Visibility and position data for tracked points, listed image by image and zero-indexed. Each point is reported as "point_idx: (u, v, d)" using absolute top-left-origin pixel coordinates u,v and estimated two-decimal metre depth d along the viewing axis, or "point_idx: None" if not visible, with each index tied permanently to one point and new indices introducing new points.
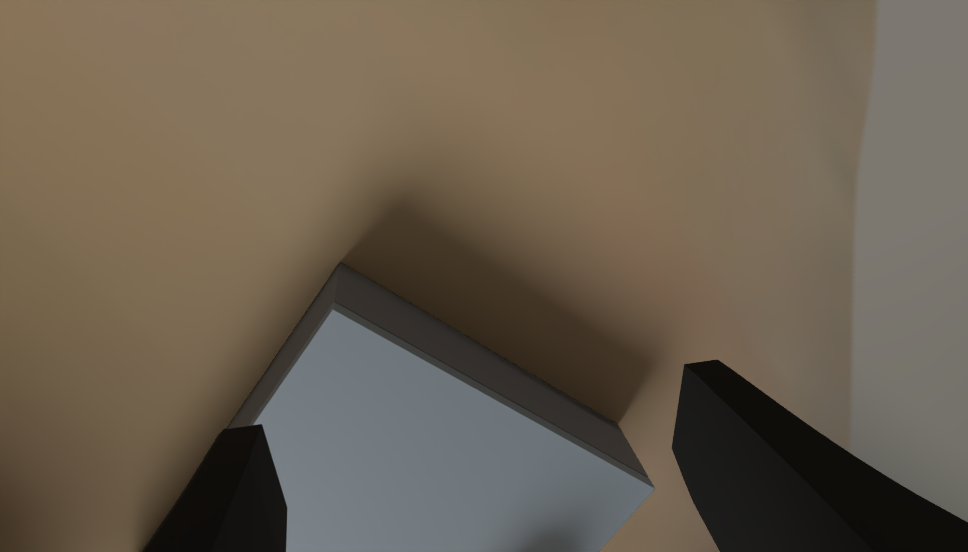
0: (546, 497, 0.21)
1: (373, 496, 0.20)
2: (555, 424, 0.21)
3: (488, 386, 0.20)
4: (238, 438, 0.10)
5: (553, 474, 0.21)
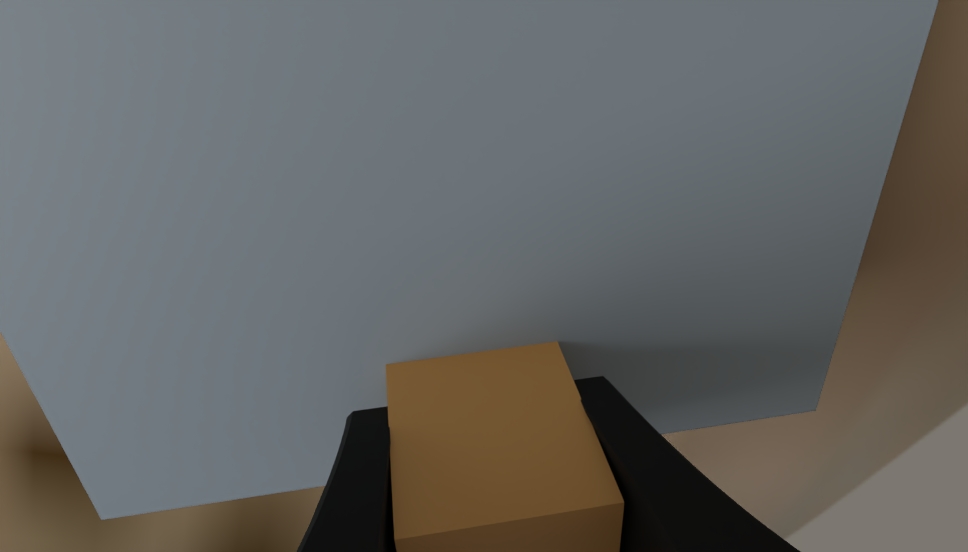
0: (745, 303, 0.12)
1: (623, 37, 0.09)
2: None
3: None
4: (371, 419, 0.10)
5: (792, 280, 0.12)
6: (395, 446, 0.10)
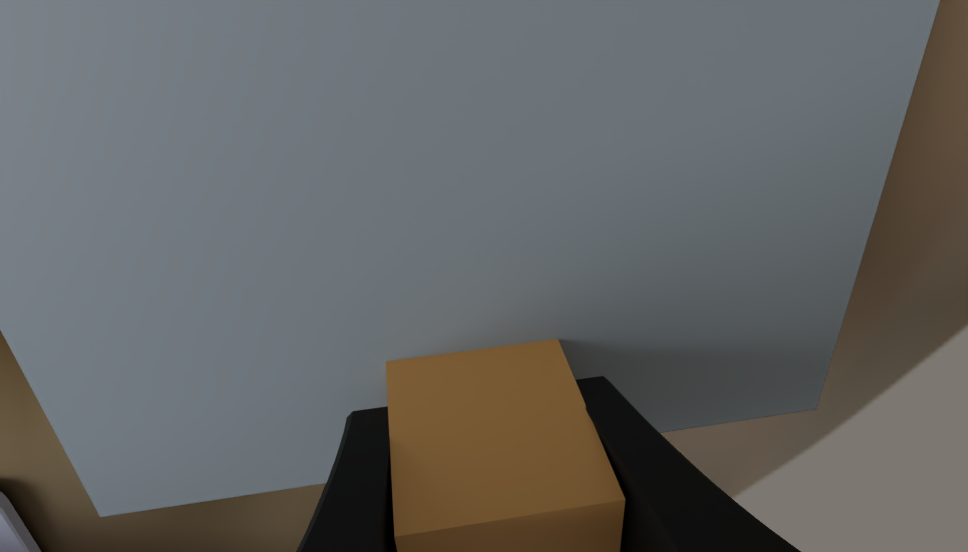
0: (746, 300, 0.12)
1: (625, 33, 0.09)
2: None
3: None
4: (371, 419, 0.10)
5: (793, 278, 0.12)
6: (395, 443, 0.10)
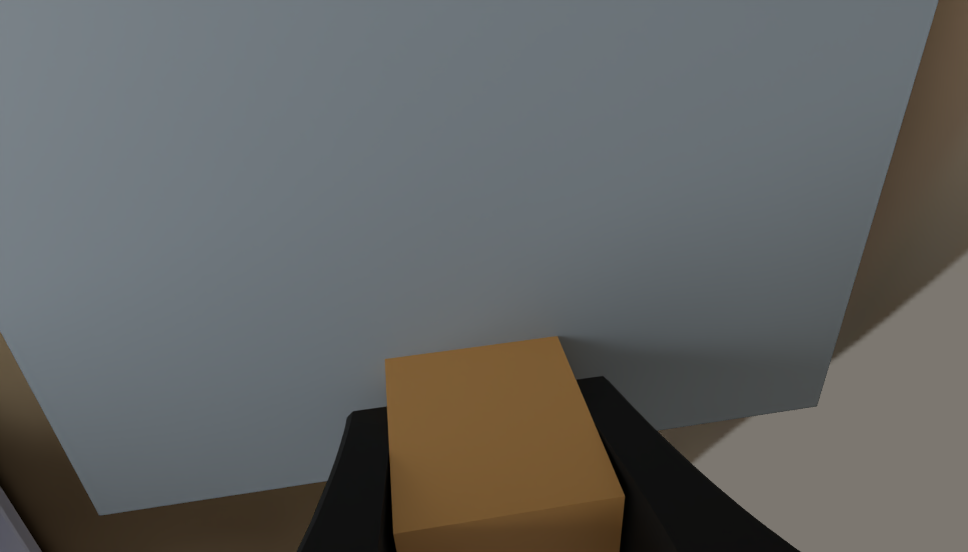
0: (746, 297, 0.12)
1: (624, 28, 0.09)
2: None
3: None
4: (371, 419, 0.10)
5: (793, 274, 0.12)
6: (394, 440, 0.10)
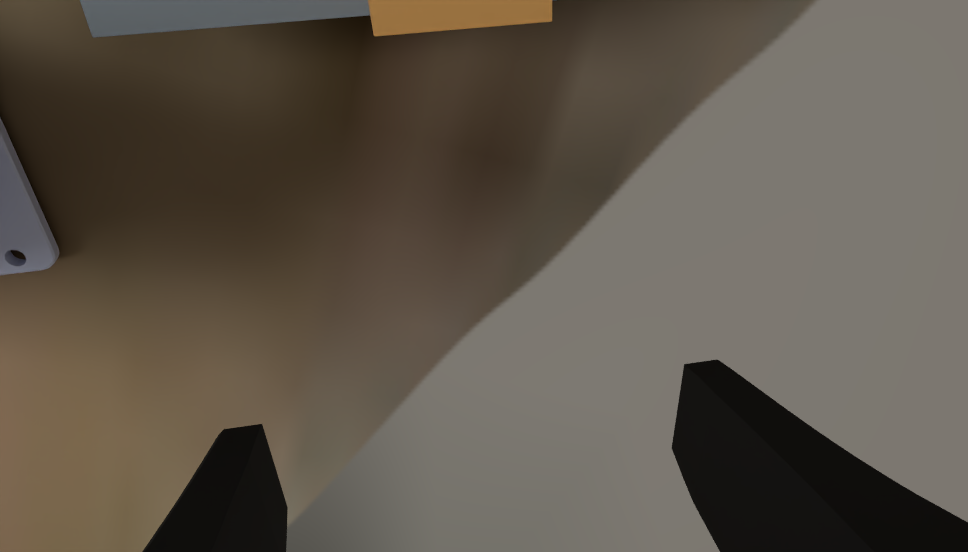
0: None
1: None
2: None
3: None
4: (238, 438, 0.10)
5: None
6: None
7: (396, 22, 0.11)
